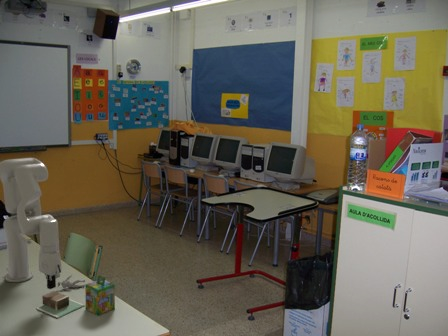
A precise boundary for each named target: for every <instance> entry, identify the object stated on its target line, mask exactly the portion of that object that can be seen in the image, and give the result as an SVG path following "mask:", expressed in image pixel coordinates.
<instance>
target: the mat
mask: <svg viewBox="0 0 448 336" xmlns="http://www.w3.org/2000/svg"><path fill="white" fill-rule="evenodd" d="M83 307H85V304H83V303H81V302H79V301H76V300H73V299H72V298H69V305H68V306H66V307H64V308H62V309H60V310H56V309H53V308H51V307H48V306H46V305H43V304H42V305H41V306H39V307H36V308H35V309H36V310H37V311H39V312H41V313H43V314H46V315H49V316H51V317H53V318H55V319H58V320H59V318H62V317H64V316H65V315H68V314H70V313H72V312H75V311H76V310H78V309H81V308H83Z"/></svg>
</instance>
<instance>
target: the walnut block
mask: <svg viewBox="0 0 448 336" xmlns="http://www.w3.org/2000/svg"><path fill="white" fill-rule="evenodd" d="M41 297H42V298H41V299H42V306H43V305H46V306H48V307H51V308H53V309H56V310H60V309H62V308H64V307H66V306H68V305H69V299H70V297H69V295H67V294H63V293H61V292H59V291H55V290H53V291H50V292H48V293H46V294H43V295H42V296H41Z"/></svg>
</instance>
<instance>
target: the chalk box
mask: <svg viewBox="0 0 448 336" xmlns="http://www.w3.org/2000/svg"><path fill="white" fill-rule="evenodd" d="M84 285H85V287H84V288H85V310H87V311H89V312H91V313H92V314H94V315H96V316H101V315H103V314H106V313H109V312H110V311H113V310H115V308H116V304H115V303H116V299H115V295H116V292H115V291H116V285H115V283H114V282H111V281H109V280H107V279H106V277H105V276H103V275H100V274H99V275H97V280H94V281H91V282H88V283H86V284H84Z"/></svg>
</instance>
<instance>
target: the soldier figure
mask: <svg viewBox="0 0 448 336" xmlns="http://www.w3.org/2000/svg"><path fill="white" fill-rule="evenodd" d="M72 276H73V274H71V275H69V276H68V277H67V278H66V279H64V280H63V281H62V282H61V281H57V287H58V288H60V286H62V288H63V290H65V291H69V292H70V291H71V292H72V289H75V288H81V287H84V288H85V284H82V285H81V284H78V283H85V282H86V279H84V280H82V279H81V280H80V279H77V280H75V281H69V280H70V278H72Z"/></svg>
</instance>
